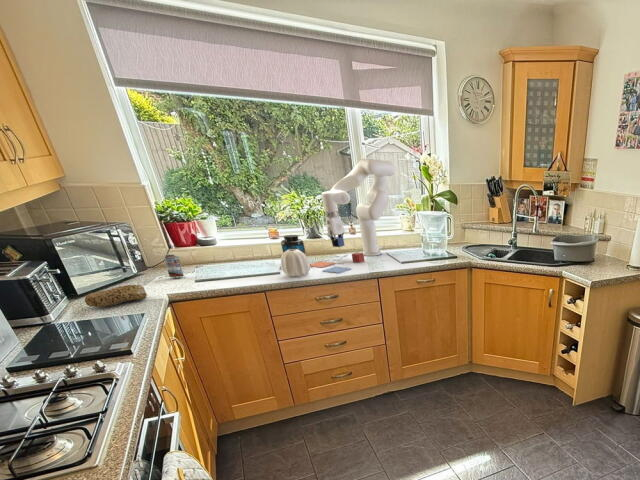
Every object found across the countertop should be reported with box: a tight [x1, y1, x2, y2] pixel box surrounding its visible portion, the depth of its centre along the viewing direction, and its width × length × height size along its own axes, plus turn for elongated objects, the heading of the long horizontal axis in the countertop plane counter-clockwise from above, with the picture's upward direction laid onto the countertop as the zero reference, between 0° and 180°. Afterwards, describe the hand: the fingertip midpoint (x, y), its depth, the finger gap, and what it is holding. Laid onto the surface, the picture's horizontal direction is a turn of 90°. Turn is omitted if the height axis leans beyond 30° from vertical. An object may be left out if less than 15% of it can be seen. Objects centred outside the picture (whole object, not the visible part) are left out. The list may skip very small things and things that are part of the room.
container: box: [280, 234, 307, 256], centre depth 243 cm, size 12×12×16 cm
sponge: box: [84, 284, 148, 308], centre depth 177 cm, size 13×8×20 cm
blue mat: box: [322, 266, 352, 274], centre depth 236 cm, size 11×11×1 cm
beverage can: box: [163, 253, 185, 279], centre depth 213 cm, size 6×7×12 cm
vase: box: [280, 249, 311, 277], centre depth 222 cm, size 14×14×13 cm
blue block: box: [330, 236, 345, 248], centre depth 255 cm, size 5×5×5 cm
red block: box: [351, 252, 365, 264], centre depth 255 cm, size 5×5×5 cm
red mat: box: [309, 261, 336, 269], centre depth 247 cm, size 11×11×1 cm
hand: (338, 245), depth 256 cm, fingers closed on blue block, 5 cm apart
